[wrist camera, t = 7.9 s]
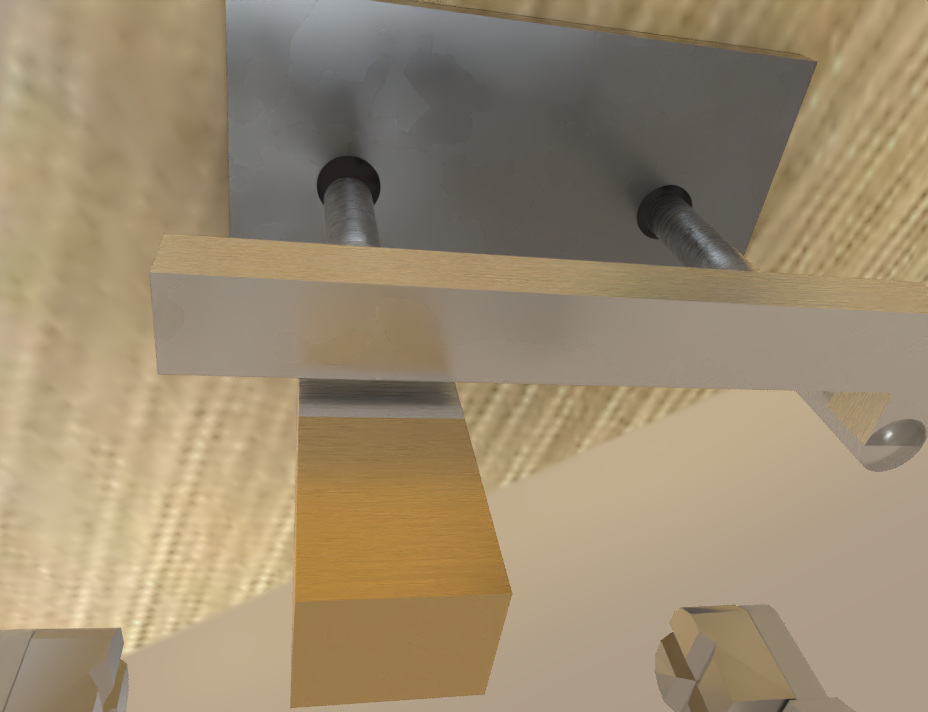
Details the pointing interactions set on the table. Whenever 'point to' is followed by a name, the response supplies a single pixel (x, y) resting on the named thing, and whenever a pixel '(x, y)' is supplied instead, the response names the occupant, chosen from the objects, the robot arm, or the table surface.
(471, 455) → the leg
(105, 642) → the robot arm
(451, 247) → the bolt plate
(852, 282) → the divider frame
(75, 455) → the table surface
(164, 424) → the table surface
